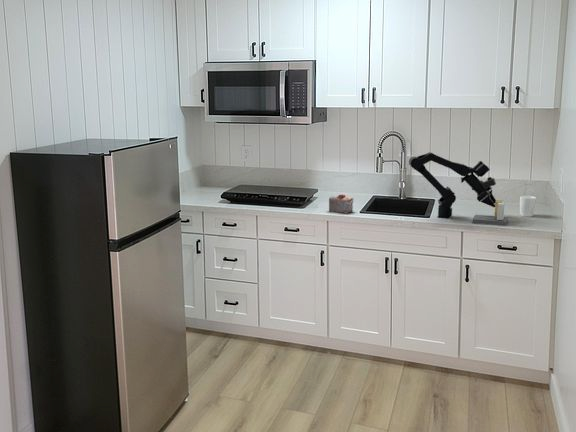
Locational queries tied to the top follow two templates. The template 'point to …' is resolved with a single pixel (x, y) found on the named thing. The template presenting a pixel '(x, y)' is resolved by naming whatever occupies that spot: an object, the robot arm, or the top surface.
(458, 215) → the top surface
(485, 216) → the grey slotted board
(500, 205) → the grey slider
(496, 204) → the amber slider
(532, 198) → the white cup
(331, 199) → the food item
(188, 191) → the top surface
